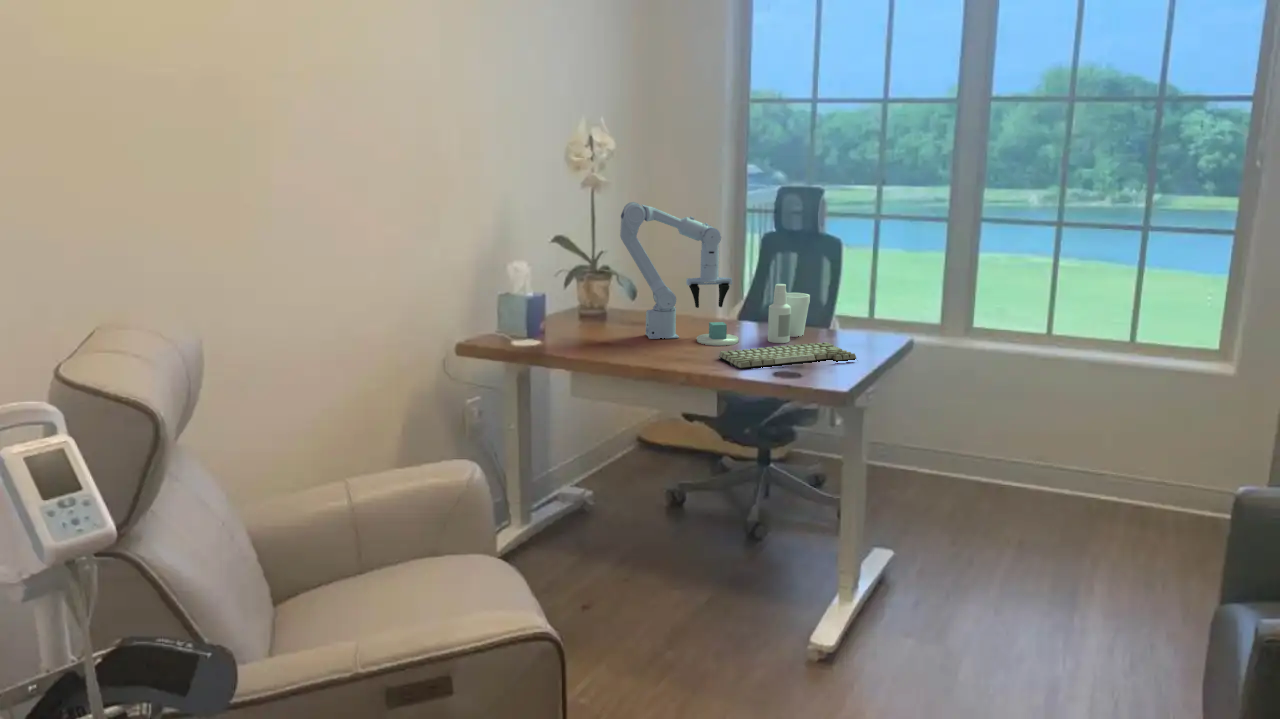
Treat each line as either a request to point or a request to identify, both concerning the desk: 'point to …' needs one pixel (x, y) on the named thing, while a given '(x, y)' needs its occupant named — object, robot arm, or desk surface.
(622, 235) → the robot arm
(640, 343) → the desk surface
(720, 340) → the dish
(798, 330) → the foam cup
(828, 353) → the mechanical keyboard
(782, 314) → the spray bottle
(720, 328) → the teal block
